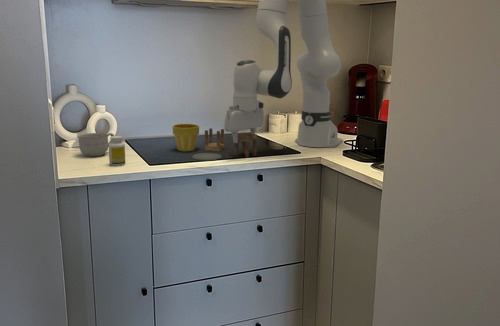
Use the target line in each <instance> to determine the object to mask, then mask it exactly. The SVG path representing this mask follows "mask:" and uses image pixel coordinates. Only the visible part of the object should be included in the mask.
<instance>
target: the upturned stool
mask: <svg viewBox="0 0 500 326" xmlns="http://www.w3.org/2000/svg"><path fill="white" fill-rule="evenodd" d="M223 148H224V149H225V129H224V128H221V129H220V130H217V131H216V142H213V127H212V128H211V127H210V128H209V129H208V130H204V150H205V151H209V150H212V151H211V152H221V151H222V150H223ZM220 150H221V151H220Z"/></svg>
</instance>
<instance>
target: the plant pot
mask: <svg viewBox="0 0 500 326" xmlns="http://www.w3.org/2000/svg"><path fill="white" fill-rule="evenodd" d="M172 134H173V135H174V139H175V143H176V148H177V151H180V152H192V151H194V150H195V149H196V145H197V144H196V143H197V139H198V135H199V134H200V125H198V124H195V123H177V124H173V125H172Z"/></svg>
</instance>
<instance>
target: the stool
mask: <svg viewBox="0 0 500 326" xmlns="http://www.w3.org/2000/svg"><path fill="white" fill-rule="evenodd" d="M237 136H238V138H239V142H240V141H241V143H242V144H241V145H242V146H241V150H242V151H241V154H244V158H249V157H250V155H249V154H250V153H249V152H250V148H249V147H250V142H252V155H253V156H257V140H258V139H257V138H258V137H257V133H255V134H251V133H250V132H240V133H239V132H238V134H237ZM233 143H234V142H233ZM233 149H234V151H233V152H234V154H233V155H234V156H236V157H237V156H239V143H234V148H233Z"/></svg>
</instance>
